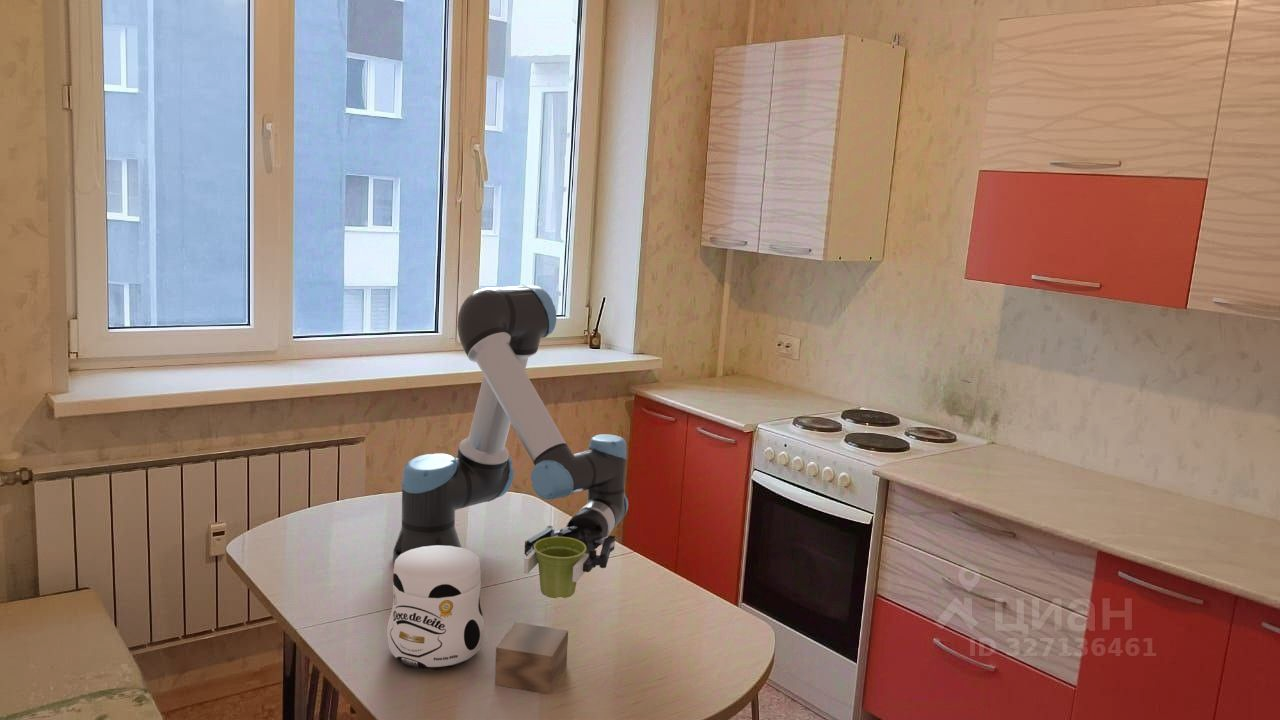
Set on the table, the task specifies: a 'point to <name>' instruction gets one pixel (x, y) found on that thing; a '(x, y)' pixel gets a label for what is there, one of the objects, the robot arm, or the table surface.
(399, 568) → the milk container
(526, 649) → the walnut block
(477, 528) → the table surface
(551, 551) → the plant pot
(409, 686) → the table surface
